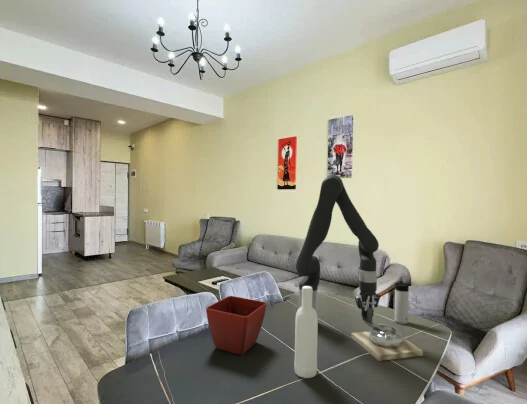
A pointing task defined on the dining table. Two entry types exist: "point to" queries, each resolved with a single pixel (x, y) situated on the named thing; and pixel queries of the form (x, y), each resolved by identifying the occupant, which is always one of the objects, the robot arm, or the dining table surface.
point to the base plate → (383, 352)
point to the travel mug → (401, 303)
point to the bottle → (306, 337)
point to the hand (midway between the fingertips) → (367, 317)
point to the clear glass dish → (382, 333)
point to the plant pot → (235, 323)
